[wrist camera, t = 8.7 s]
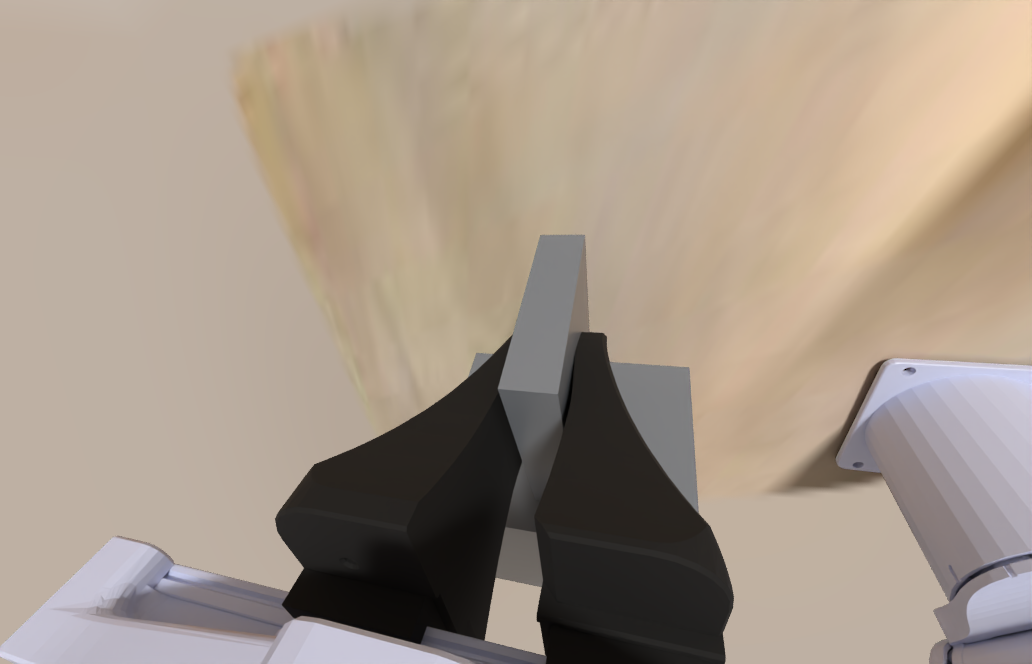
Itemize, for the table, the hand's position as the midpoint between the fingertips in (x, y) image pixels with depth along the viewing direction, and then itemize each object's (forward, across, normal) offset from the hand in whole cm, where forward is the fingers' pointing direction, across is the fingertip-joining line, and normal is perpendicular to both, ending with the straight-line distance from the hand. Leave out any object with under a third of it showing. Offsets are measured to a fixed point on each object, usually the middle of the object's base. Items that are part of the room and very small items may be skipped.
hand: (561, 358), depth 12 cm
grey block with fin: (+3, 0, +3) cm, 5 cm away
